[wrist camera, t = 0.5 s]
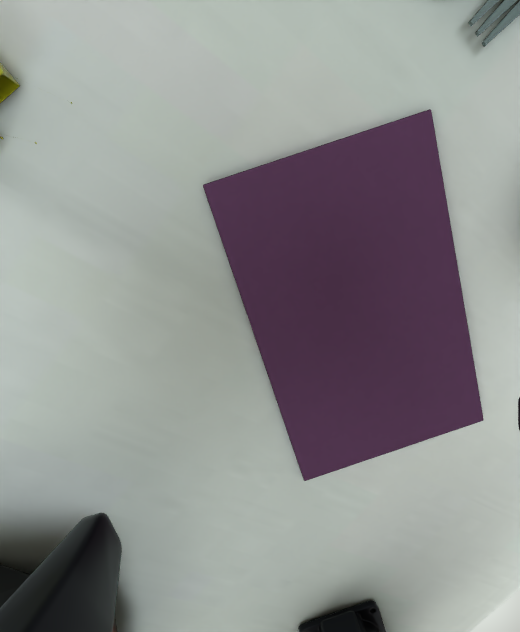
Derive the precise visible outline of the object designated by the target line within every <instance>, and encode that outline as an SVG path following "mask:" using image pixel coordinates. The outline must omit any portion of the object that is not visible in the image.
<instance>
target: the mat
mask: <svg viewBox="0 0 520 632" xmlns="http://www.w3.org/2000/svg"><path fill="white" fill-rule="evenodd" d="M203 187H204V190H205V193H206V196H207V199H208V202H209V205H210V208H211V211H212V214H213V216H214V219H215V222H216V225H217V228H218V231H219V234H220V237H221V240H222V243H223V246H224V248H225V251H226V254H227V257H228V260H229V263H230V266H231V269H232V272H233V275H234V278H235V280H236V283H237V286H238V289H239V292H240V295H241V298H242V301H243V304H244V307H245V310H246V312H247V315H248V318H249V321H250V324H251V327H252V330H253V333H254V336H255V339H256V342H257V345H258V347H259V350H260V353H261V356H262V359H263V362H264V365H265V368H266V371H267V374H268V377H269V379H270V382H271V385H272V388H273V391H274V394H275V397H276V400H277V403H278V406H279V409H280V411H281V414H282V417H283V420H284V423H285V426H286V429H287V432H288V435H289V438H290V441H291V443H292V446H293V449H294V452H295V455H296V458H297V461H298V464H299V467H300V470H301V473H302V476H303V478H304V481H306V480H309V479H312V478H315V477H318V476H321V475H324V474H327V473H330V472H333V471H336V470H339V469H342V468H345V467H347V466H350V465H353V464H356V463H359V462H362V461H365V460H368V459H371V458H374V457H377V456H380V455H383V454H386V453H389V452H392V451H395V450H398V449H400V448H403V447H406V446H409V445H412V444H415V443H418V442H421V441H424V440H427V439H430V438H433V437H436V436H439V435H442V434H445V433H448V432H450V431H453V430H456V429H459V428H462V427H465V426H468V425H471V424H474V423H477V422H480V421H483V414H482V408H481V402H480V396H479V390H478V384H477V378H476V372H475V367H474V361H473V355H472V349H471V343H470V337H469V331H468V325H467V319H466V313H465V307H464V302H463V296H462V290H461V284H460V278H459V272H458V266H457V260H456V254H455V248H454V243H453V237H452V231H451V225H450V219H449V213H448V207H447V201H446V195H445V189H444V183H443V178H442V172H441V166H440V160H439V154H438V148H437V142H436V136H435V130H434V124H433V119H432V113H431V110H427V111H424V112H421V113H418V114H415V115H412V116H409V117H406V118H403V119H400V120H397V121H394V122H391V123H388V124H385V125H382V126H379V127H376V128H373V129H370V130H367V131H364V132H361V133H358V134H355V135H352V136H349V137H346V138H343V139H339V140H336V141H333V142H330V143H327V144H324V145H321V146H318V147H315V148H312V149H309V150H306V151H303V152H300V153H297V154H294V155H291V156H288V157H285V158H282V159H279V160H276V161H273V162H270V163H267V164H264V165H261V166H258V167H255V168H252V169H249V170H246V171H243V172H240V173H237V174H234V175H231V176H228V177H225V178H222V179H219V180H216V181H213V182H210V183H207V184H204V185H203Z"/></svg>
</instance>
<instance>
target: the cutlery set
mask: <svg viewBox="0 0 520 632" xmlns="http://www.w3.org/2000/svg"><path fill="white" fill-rule="evenodd" d="M498 1H499V0H488V1H487V2H486V3H485V4H484V5H483V6H482V8H481V9H480V10H479V11H478V12H477V13H476V15H475V16H474V17H473V18H472V19H471V20H470V22H469V25H470V26H472V25H473V24H474V23H475V22H477V21H478V20H479V19H480V18H481V17H482V16H483V15H484V14H485V13H486V12H487V11H488V10H489V9H491V8H492V7H493V6H494V5H495V4H496V3H497V2H498ZM516 1H517V0H503V2H502V3H501V4H500V5H499V6H498V7H497V8H496V9H495V11H494V12H493V13H492V14H491V15H490V16H489V17H488V18H487V20H486V21H485V22H484V23H483V24H482V25H481V27H480V28H479V29H478V30H477V31H476V33H475V34H476V35H477V37H478V36H479V35H480V34H481V33H482V32H483V31H484V30H486V29H487V28H488V27H489V26H490V25H491V24H492V23H493V22H494V21H495V20H496V19H497V18H499V17H500V16H501V15H502V14H503V13H504V12H505V11H506V10H507V9H508V8H510V7H511V6H512V5H513V4H514V3H515V2H516ZM519 15H520V0H519V1H518V2H517V3H516V5H515V6H514V7H513V8H512V9H511V10H510V11H509V12H508V13H507V15H506V16H505V17H504V18H503V19H502V20H501V21H500V22H499V23H498V25H497V26H496V27H495V28H494V29H493V30H492V31H491V33H490V34H489V35H488V36H487V37H486V38H485V40H484V41H483V42H482V44H483V46H486V45H487V44H488V43H489V42H490V41H491V40H492V39H493V38H494V37H495V36H496V35H498V34H499V33H500V32H501V31H502V30H503V29H504V28H505V27H506V26H507V25H509V24H510V23H511V22H512V21H513V20H514V19H515V18H516V17H517V16H519Z"/></svg>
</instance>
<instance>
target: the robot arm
mask: <svg viewBox="0 0 520 632" xmlns="http://www.w3.org/2000/svg"><path fill="white" fill-rule="evenodd" d="M518 425H519V430H520V398H519V401H518ZM121 552H122V548H121V542H120V539H119V537H118V535H117V533H116V531H115V529H114V527H113V525H112V523H111V521H110V519H109V518H108V516H107V515H106V514H105V513H98V514H95V515H91V516H88V517H85V518H83V519H82V520H81V521H80V522H79V523H78V524H77V525H76V526H75V527H74V528H73V530H72V531H71V532H70V533H69V534H68V535H67V536H66V537H65V538H64V539H63V540H62V541H61V543H60V544H59V545H58V546H57V547H56V548H55V549H54V550H53V551H52V552H51V553H50V554H49V556H48V557H47V558H46V559H45V560H44V561H43V562H42V563H41V564H40V565H39V566H38V567H37V569H36V570H35V571H34V572H33V573H32V574H31V575H30V576H29V577H28V578H27V579H26V581H25V582H24V583H23V584H22V585H21V586H20V587H19V588H18V589H17V590H16V591H15V592H14V594H13V595H12V596H11V597H10V598H9V599H8V600H7V601H6V602H5V603H4V604H3V605H2V607H1V608H0V632H112V631H113V623H114V614H115V605H116V597H117V588H118V579H119V570H120V562H121ZM298 629H299V632H386V630H385V627H384V624H383V621H382V617H381V614H380V611H379V608H378V605H377V603H376V602H375V601H368V602H365V603H362V604H359V605H356V606H353V607H350V608H347V609H344V610H342V611H339V612H336V613H333V614H330V615H327V616H324V617H321V618H318V619H315V620H312V621H309V622H307V623H304V624H301V625H300V626H299V628H298Z"/></svg>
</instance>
